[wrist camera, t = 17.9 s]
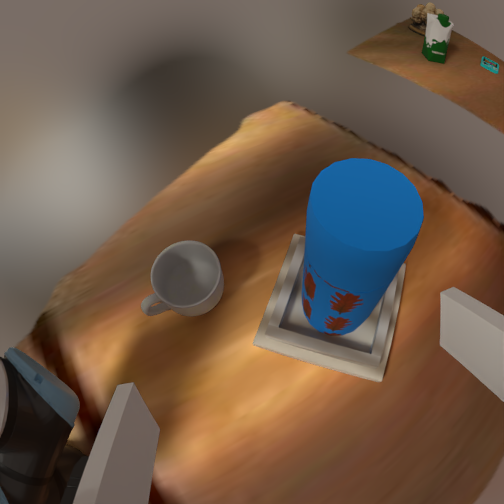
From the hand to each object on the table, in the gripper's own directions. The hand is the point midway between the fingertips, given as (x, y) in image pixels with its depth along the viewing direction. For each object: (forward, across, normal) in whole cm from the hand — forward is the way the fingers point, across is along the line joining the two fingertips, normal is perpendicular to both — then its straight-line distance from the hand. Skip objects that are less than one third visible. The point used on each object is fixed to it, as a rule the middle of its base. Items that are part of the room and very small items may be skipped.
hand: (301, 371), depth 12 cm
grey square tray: (+35, +11, -16) cm, 40 cm away
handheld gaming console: (+85, +119, +34) cm, 150 cm away
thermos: (+34, +11, -15) cm, 38 cm away
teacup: (+41, -11, -10) cm, 43 cm away
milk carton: (+87, +86, +36) cm, 127 cm away
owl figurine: (+105, +103, +54) cm, 157 cm away
